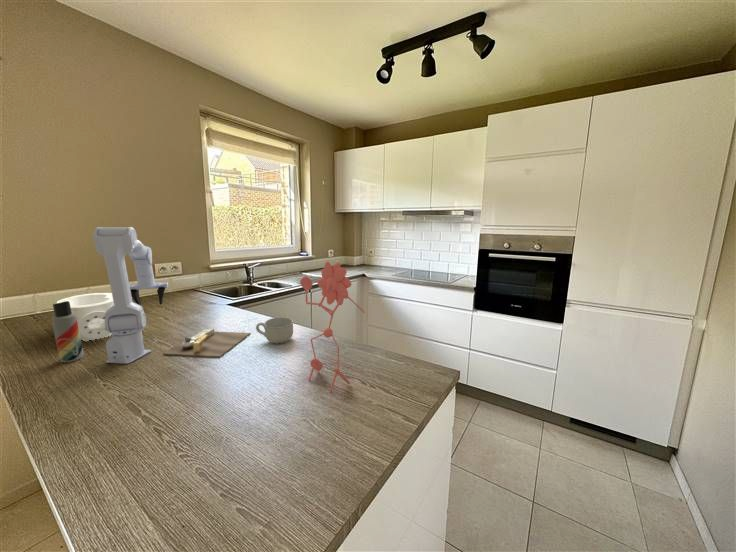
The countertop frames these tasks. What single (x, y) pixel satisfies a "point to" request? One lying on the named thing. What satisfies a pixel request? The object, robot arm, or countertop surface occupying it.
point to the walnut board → (211, 345)
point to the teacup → (277, 329)
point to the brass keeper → (199, 344)
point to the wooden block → (190, 340)
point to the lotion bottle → (66, 333)
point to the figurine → (332, 289)
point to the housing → (91, 314)
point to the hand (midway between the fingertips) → (150, 304)
